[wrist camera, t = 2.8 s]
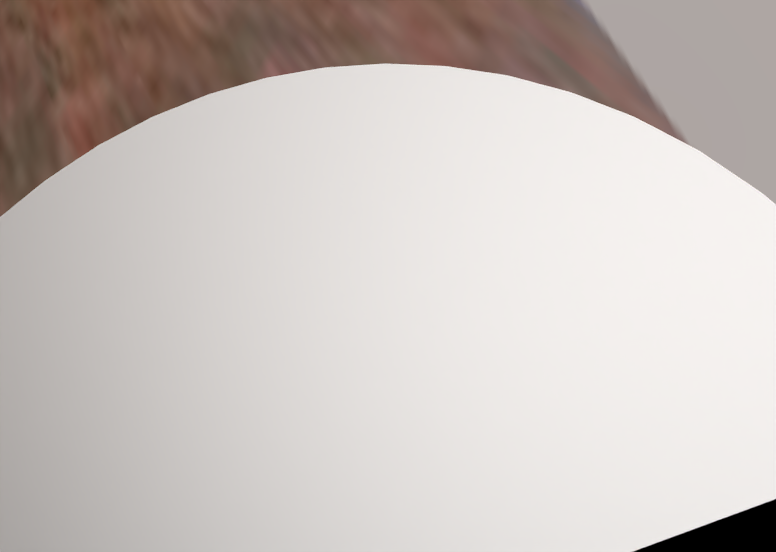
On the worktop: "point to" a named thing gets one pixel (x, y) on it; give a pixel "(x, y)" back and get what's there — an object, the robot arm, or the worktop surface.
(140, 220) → the white banded cylinder
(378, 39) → the worktop surface
